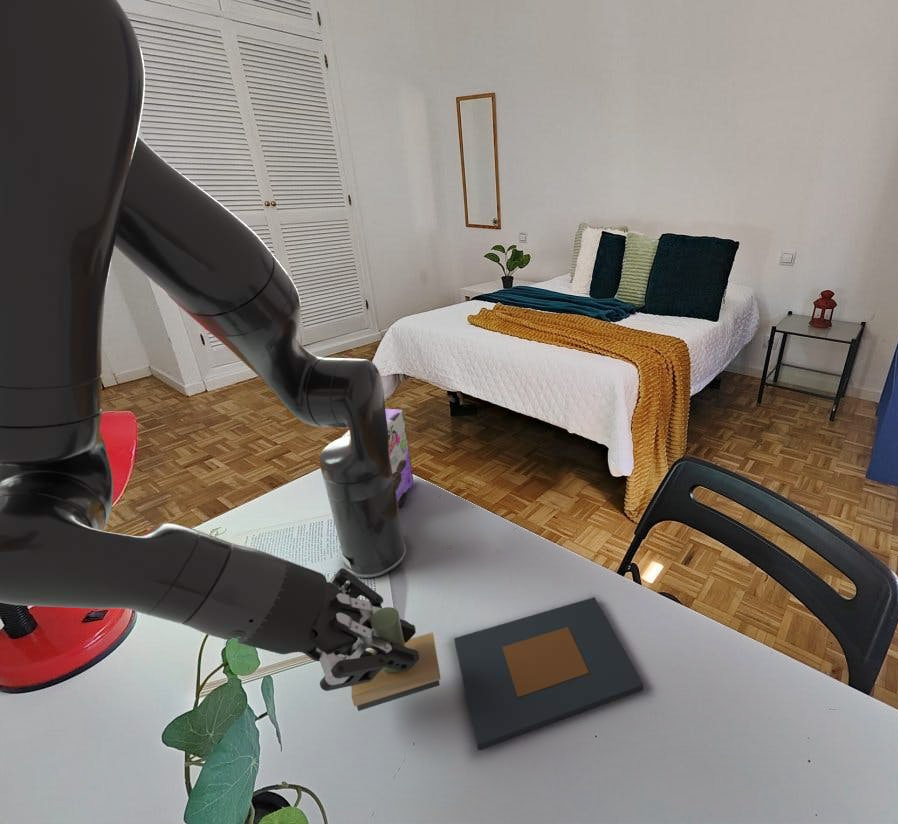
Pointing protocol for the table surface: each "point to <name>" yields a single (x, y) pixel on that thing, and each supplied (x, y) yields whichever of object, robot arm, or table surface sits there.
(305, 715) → the table surface
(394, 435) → the candy box
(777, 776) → the table surface
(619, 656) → the desk mat
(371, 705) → the brush
